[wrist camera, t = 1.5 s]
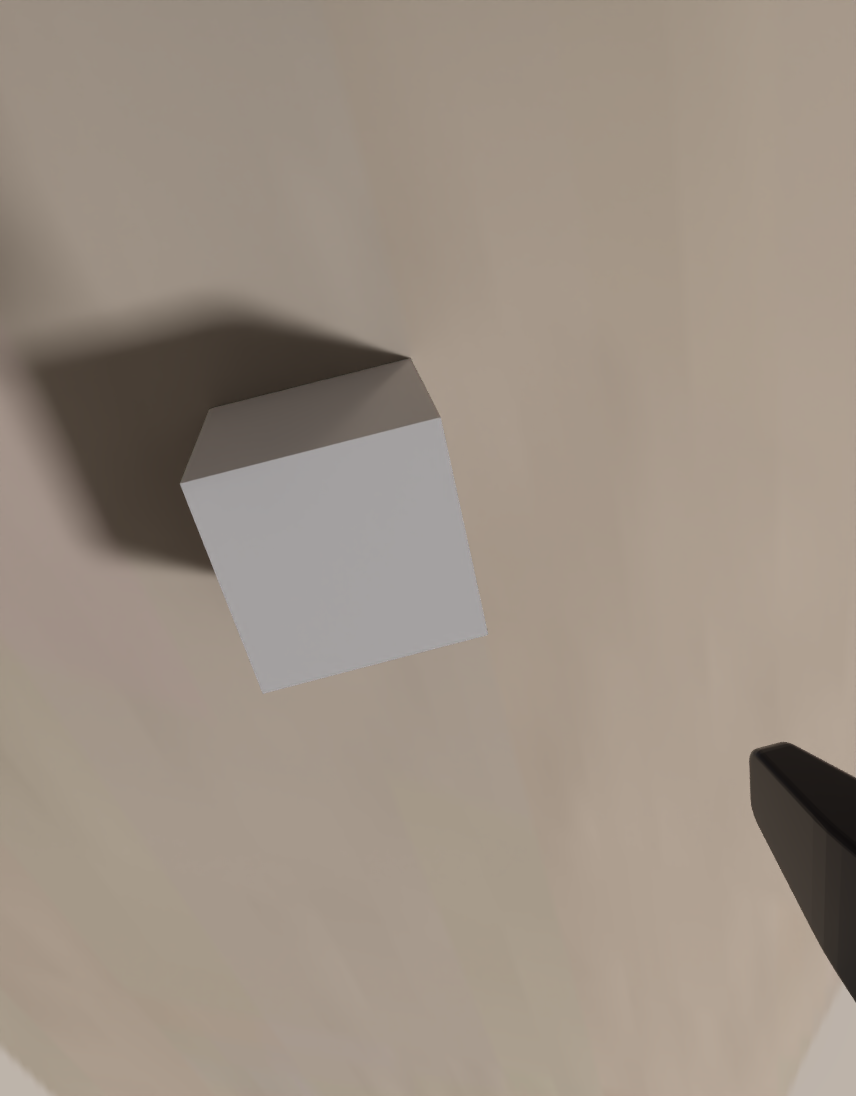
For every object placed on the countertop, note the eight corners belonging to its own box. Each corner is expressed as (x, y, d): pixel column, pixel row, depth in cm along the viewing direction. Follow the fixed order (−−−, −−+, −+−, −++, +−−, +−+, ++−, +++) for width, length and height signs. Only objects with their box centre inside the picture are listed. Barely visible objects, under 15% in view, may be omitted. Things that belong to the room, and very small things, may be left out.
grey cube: (410, 357, 19) (440, 416, 15) (451, 536, 22) (488, 634, 17) (209, 408, 19) (180, 483, 15) (272, 582, 21) (262, 693, 17)
